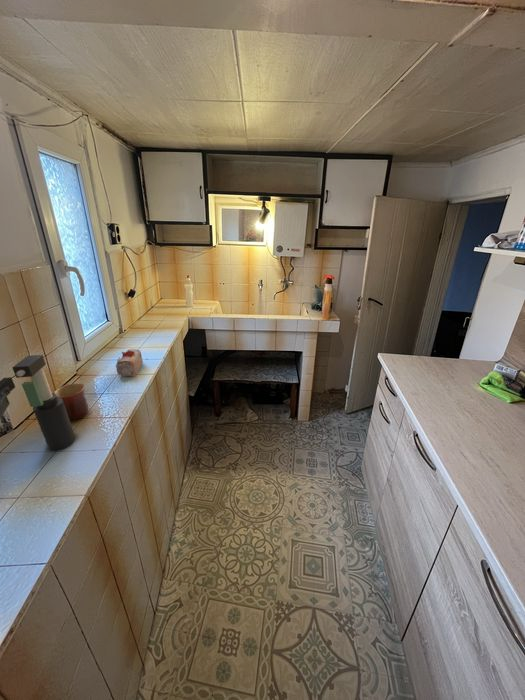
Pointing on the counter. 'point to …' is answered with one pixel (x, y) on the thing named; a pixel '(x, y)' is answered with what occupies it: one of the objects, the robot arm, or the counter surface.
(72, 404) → the mug
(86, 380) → the counter surface
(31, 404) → the trigger
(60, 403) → the spray bottle
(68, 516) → the counter surface
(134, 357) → the food item
